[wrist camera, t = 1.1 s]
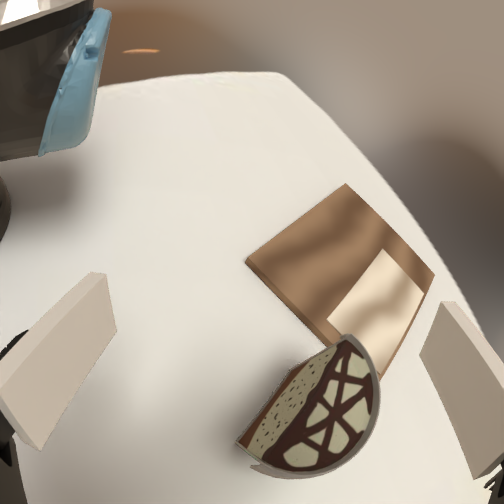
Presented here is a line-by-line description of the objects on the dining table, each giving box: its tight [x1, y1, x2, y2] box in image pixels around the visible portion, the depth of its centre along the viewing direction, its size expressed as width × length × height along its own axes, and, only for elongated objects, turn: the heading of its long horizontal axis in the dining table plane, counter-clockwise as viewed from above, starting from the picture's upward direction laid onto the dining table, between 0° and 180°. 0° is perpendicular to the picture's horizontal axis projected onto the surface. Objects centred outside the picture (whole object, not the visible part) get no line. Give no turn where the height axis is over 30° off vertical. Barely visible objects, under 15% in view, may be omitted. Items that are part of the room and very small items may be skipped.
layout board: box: [245, 183, 435, 382], centre depth 37 cm, size 20×22×1 cm
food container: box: [235, 333, 381, 479], centre depth 21 cm, size 12×6×10 cm, turn 140°
